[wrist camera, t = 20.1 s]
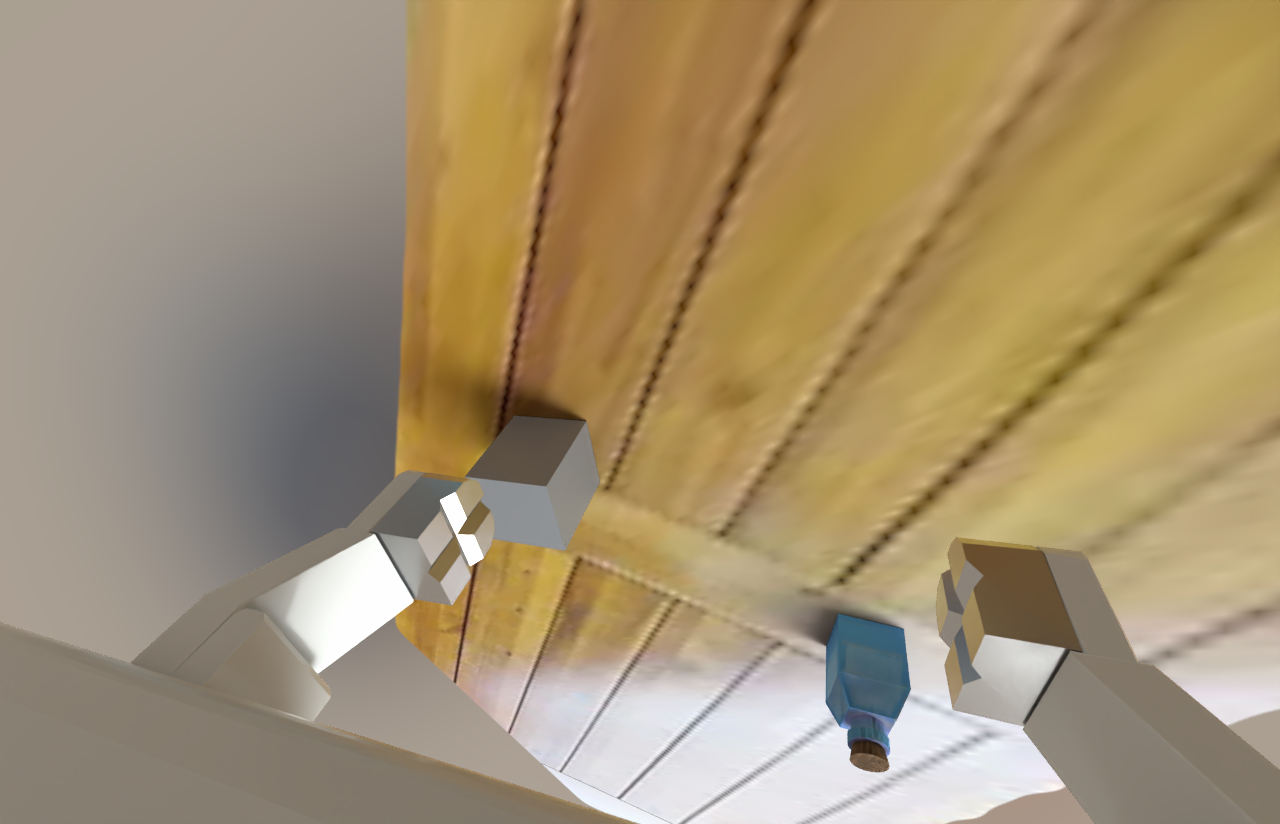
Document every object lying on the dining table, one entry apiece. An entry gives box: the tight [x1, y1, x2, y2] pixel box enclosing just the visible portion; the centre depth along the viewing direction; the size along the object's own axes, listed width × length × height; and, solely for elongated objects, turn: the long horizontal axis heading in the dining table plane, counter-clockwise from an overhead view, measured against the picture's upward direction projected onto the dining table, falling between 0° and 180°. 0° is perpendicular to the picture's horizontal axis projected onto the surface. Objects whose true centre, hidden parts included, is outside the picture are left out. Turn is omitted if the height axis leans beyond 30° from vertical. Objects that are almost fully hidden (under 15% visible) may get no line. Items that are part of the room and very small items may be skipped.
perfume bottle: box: [826, 614, 911, 772], centre depth 50 cm, size 6×6×12 cm
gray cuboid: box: [465, 416, 600, 550], centre depth 48 cm, size 8×8×9 cm
